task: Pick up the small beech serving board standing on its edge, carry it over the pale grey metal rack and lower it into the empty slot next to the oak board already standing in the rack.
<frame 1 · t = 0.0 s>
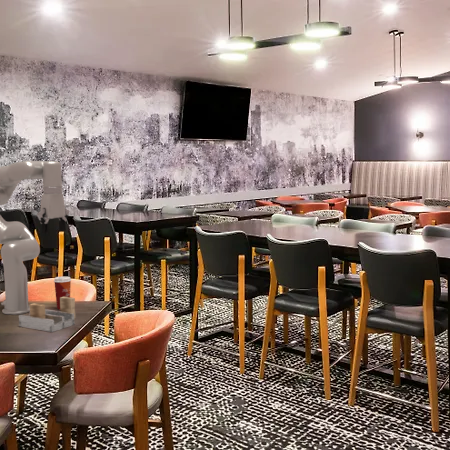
hand: (54, 231, 251), 37 cm above the table, tool pointing down, fingers open, 9 cm apart
oak board: (38, 326, 241), resting in rack
paper cup: (63, 308, 272), on the table
beech board: (68, 318, 253), on the table
rack: (46, 325, 243), on the table
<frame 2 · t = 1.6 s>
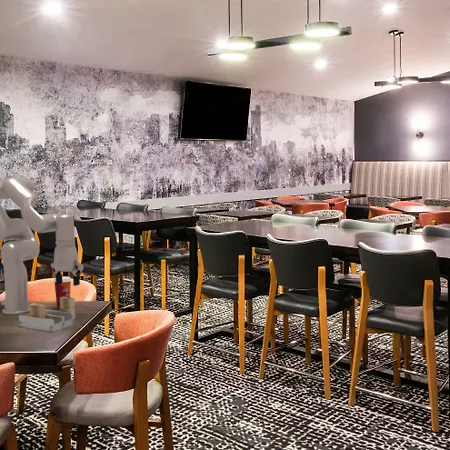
hand: (67, 284, 251), 15 cm above the table, tool pointing down, fingers open, 9 cm apart
nothing on the table moved.
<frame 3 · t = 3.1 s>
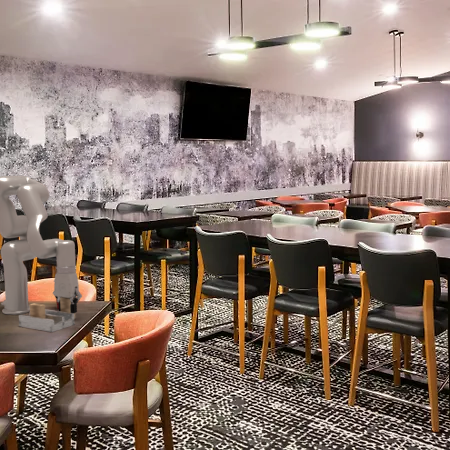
hand: (67, 311, 253), 3 cm above the table, tool pointing down, fingers closed on beech board, 6 cm apart
beech board: (68, 318, 253), on the table, touching gripper
everything else where it was.
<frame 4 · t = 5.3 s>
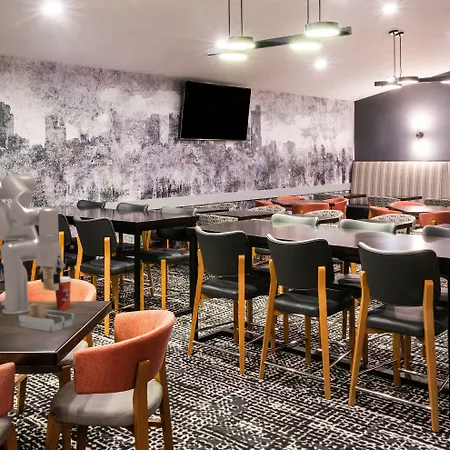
hand: (50, 282, 243), 17 cm above the table, tool pointing down, fingers closed on beech board, 6 cm apart
beech board: (51, 289, 244), point 14 cm above the table, touching gripper
everything else where it was.
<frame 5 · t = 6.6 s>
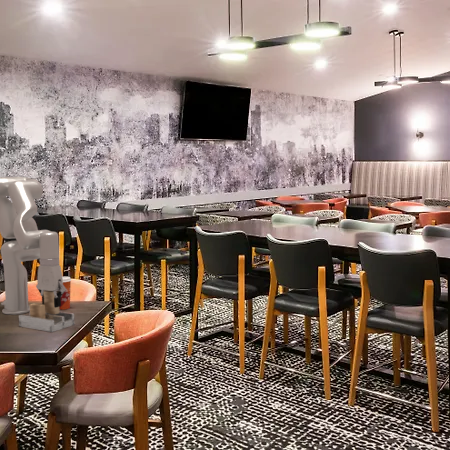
hand: (51, 305, 244), 8 cm above the table, tool pointing down, fingers closed on beech board, 6 cm apart
beech board: (51, 312, 244), point 5 cm above the table, touching gripper
everything else where it was.
when the fingers open (6 cm above the table, at t = 7.4 s): beech board drops 3 cm, resting in rack.
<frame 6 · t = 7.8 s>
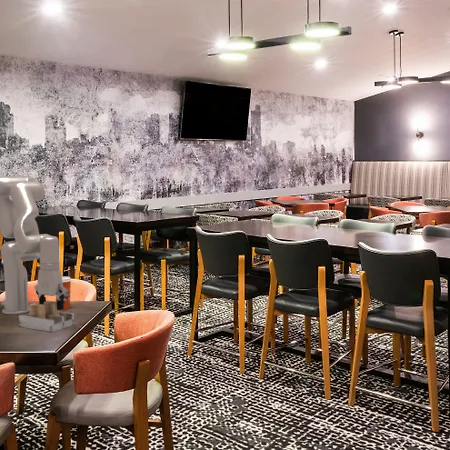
hand: (51, 308, 244), 7 cm above the table, tool pointing down, fingers open, 9 cm apart
beech board: (52, 323, 245), resting in rack
everything else where it was.
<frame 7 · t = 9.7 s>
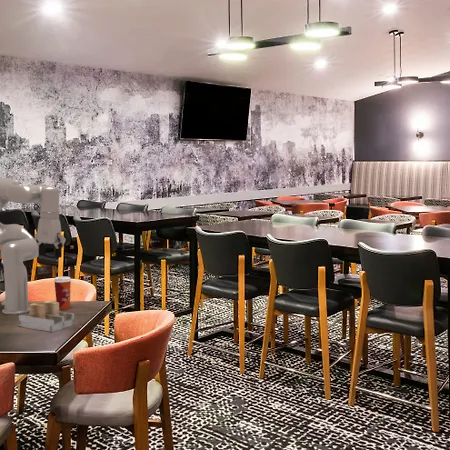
hand: (50, 256, 253), 26 cm above the table, tool pointing down, fingers open, 9 cm apart
nothing on the table moved.
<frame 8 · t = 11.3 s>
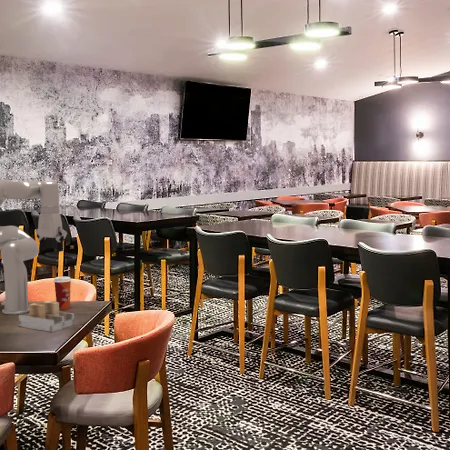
hand: (51, 250, 255), 28 cm above the table, tool pointing down, fingers open, 9 cm apart
nothing on the table moved.
at the end: beech board inside the target area on the rack (0.1 cm from its centre), point 0.0 cm above the rack's base; beech board tilted 0°; the gripper is holding nothing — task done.
